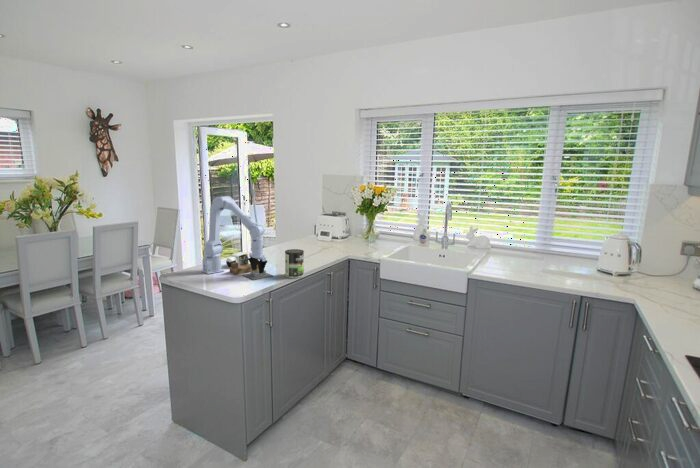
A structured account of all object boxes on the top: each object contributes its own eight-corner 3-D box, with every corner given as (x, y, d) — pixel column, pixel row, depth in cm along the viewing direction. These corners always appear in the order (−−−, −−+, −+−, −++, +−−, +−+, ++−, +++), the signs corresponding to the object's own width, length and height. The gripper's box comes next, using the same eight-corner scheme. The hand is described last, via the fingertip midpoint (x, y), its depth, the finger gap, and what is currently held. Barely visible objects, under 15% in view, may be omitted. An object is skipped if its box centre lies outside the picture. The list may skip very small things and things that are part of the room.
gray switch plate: (253, 280, 196) (253, 279, 196) (242, 275, 205) (242, 274, 205) (273, 276, 205) (273, 275, 204) (261, 271, 213) (261, 271, 213)
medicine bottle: (249, 264, 228) (233, 269, 218) (241, 262, 232) (225, 268, 222) (247, 253, 226) (231, 258, 217) (240, 251, 230) (223, 256, 221)
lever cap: (254, 277, 201) (254, 271, 200) (250, 275, 204) (250, 269, 203) (265, 274, 206) (265, 269, 205) (261, 273, 209) (261, 267, 208)
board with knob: (235, 275, 206) (235, 264, 205) (229, 272, 211) (229, 262, 210) (262, 270, 217) (262, 260, 216) (256, 267, 222) (256, 257, 221)
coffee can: (307, 275, 209) (307, 250, 206) (295, 279, 200) (295, 253, 198) (293, 272, 214) (293, 248, 212) (281, 276, 205) (281, 251, 203)
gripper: (270, 248, 200) (271, 273, 202) (257, 244, 210) (257, 268, 212) (259, 250, 195) (259, 275, 197) (245, 246, 205) (246, 270, 207)
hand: (257, 271), depth 204 cm, fingers open, 7 cm apart
